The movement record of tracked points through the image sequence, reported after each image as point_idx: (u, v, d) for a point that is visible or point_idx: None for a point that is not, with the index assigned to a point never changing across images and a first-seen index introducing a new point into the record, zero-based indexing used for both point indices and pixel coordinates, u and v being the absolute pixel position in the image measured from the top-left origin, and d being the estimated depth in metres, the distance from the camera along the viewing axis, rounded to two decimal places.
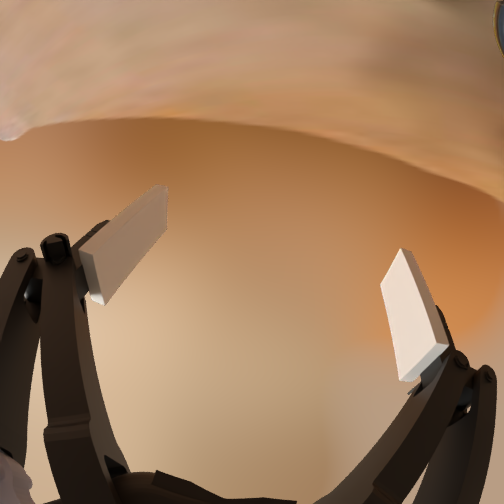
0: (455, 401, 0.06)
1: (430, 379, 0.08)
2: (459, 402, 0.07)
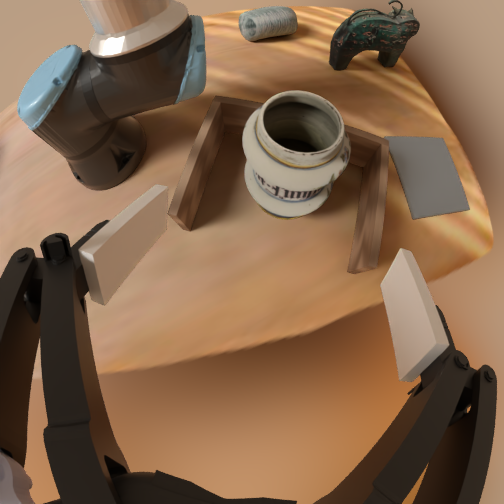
0: (455, 401, 0.06)
1: (430, 379, 0.08)
2: (459, 402, 0.07)
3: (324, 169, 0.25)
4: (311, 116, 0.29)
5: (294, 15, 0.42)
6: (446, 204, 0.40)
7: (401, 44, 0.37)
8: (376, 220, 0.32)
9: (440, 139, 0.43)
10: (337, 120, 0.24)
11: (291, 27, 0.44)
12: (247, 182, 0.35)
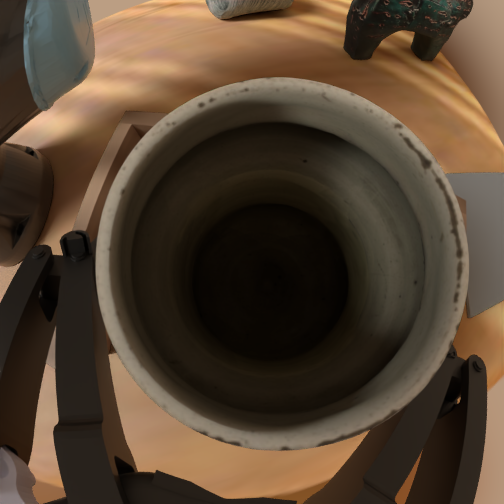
0: (444, 390, 0.06)
1: None
2: (448, 393, 0.08)
3: None
4: (328, 162, 0.11)
5: None
6: None
7: (450, 27, 0.19)
8: None
9: (502, 175, 0.24)
10: (440, 220, 0.05)
11: None
12: None
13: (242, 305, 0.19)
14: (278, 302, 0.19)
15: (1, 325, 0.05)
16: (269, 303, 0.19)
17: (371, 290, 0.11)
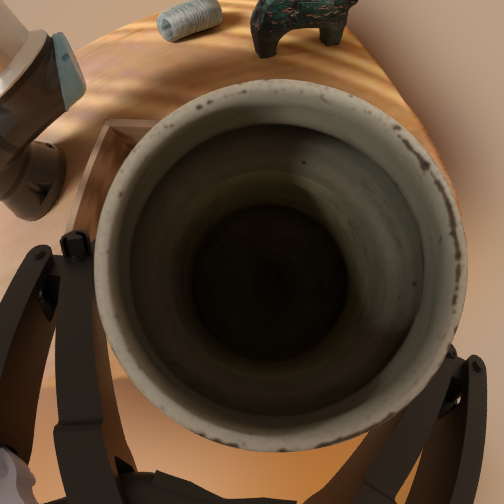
0: (444, 391, 0.06)
1: None
2: (448, 393, 0.08)
3: None
4: (327, 163, 0.11)
5: (215, 5, 0.36)
6: None
7: (339, 15, 0.31)
8: None
9: None
10: (439, 222, 0.05)
11: (212, 19, 0.38)
12: None
13: (241, 306, 0.19)
14: (277, 303, 0.19)
15: (1, 325, 0.05)
16: (268, 303, 0.19)
17: (370, 291, 0.11)
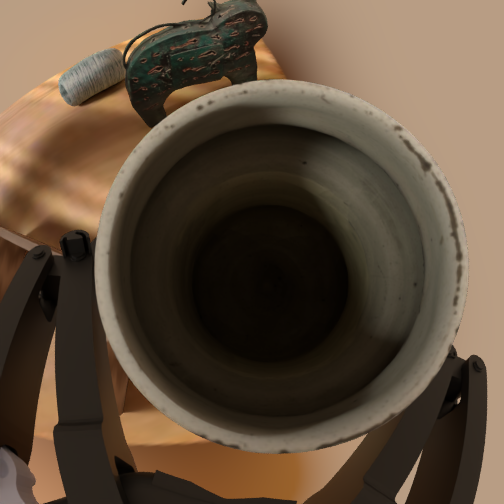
0: (444, 391, 0.06)
1: None
2: (448, 393, 0.08)
3: None
4: (327, 163, 0.10)
5: (113, 59, 0.33)
6: None
7: (238, 59, 0.28)
8: None
9: None
10: (440, 222, 0.05)
11: (109, 78, 0.35)
12: None
13: (242, 306, 0.19)
14: (278, 303, 0.19)
15: (1, 325, 0.05)
16: (269, 304, 0.19)
17: (371, 292, 0.11)
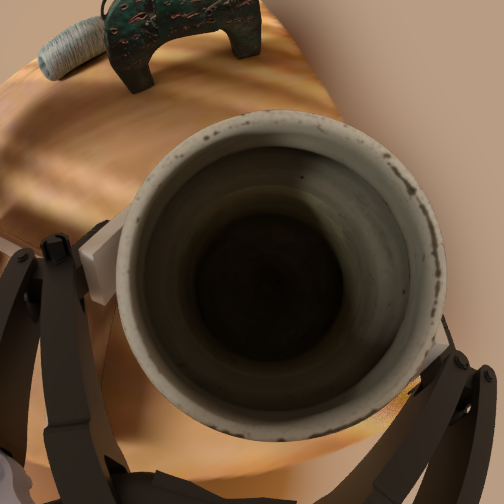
0: (455, 401, 0.06)
1: (430, 379, 0.08)
2: (459, 403, 0.07)
3: None
4: (323, 178, 0.11)
5: (97, 25, 0.24)
6: None
7: (238, 6, 0.19)
8: (47, 419, 0.14)
9: None
10: (422, 241, 0.06)
11: (91, 46, 0.26)
12: None
13: (242, 308, 0.20)
14: (277, 305, 0.20)
15: None
16: (268, 306, 0.20)
17: (363, 298, 0.12)
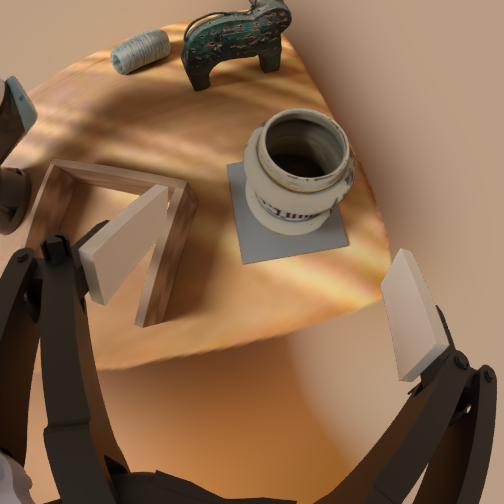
0: (455, 401, 0.06)
1: (430, 379, 0.08)
2: (459, 403, 0.07)
3: (328, 193, 0.25)
4: (315, 133, 0.29)
5: (161, 38, 0.41)
6: (302, 242, 0.40)
7: (269, 42, 0.36)
8: (147, 279, 0.32)
9: None
10: (342, 141, 0.24)
11: (157, 52, 0.43)
12: (248, 200, 0.34)
13: None
14: None
15: None
16: None
17: None
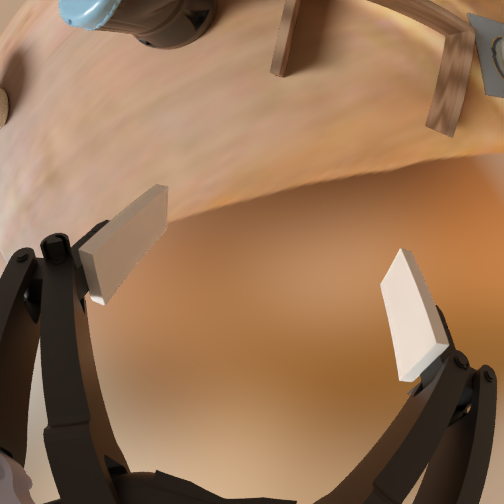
0: (455, 401, 0.06)
1: (430, 379, 0.08)
2: (459, 403, 0.07)
3: None
4: None
5: None
6: None
7: None
8: (458, 98, 0.24)
9: None
10: None
11: None
12: None
13: None
14: None
15: None
16: None
17: None
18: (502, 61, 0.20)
